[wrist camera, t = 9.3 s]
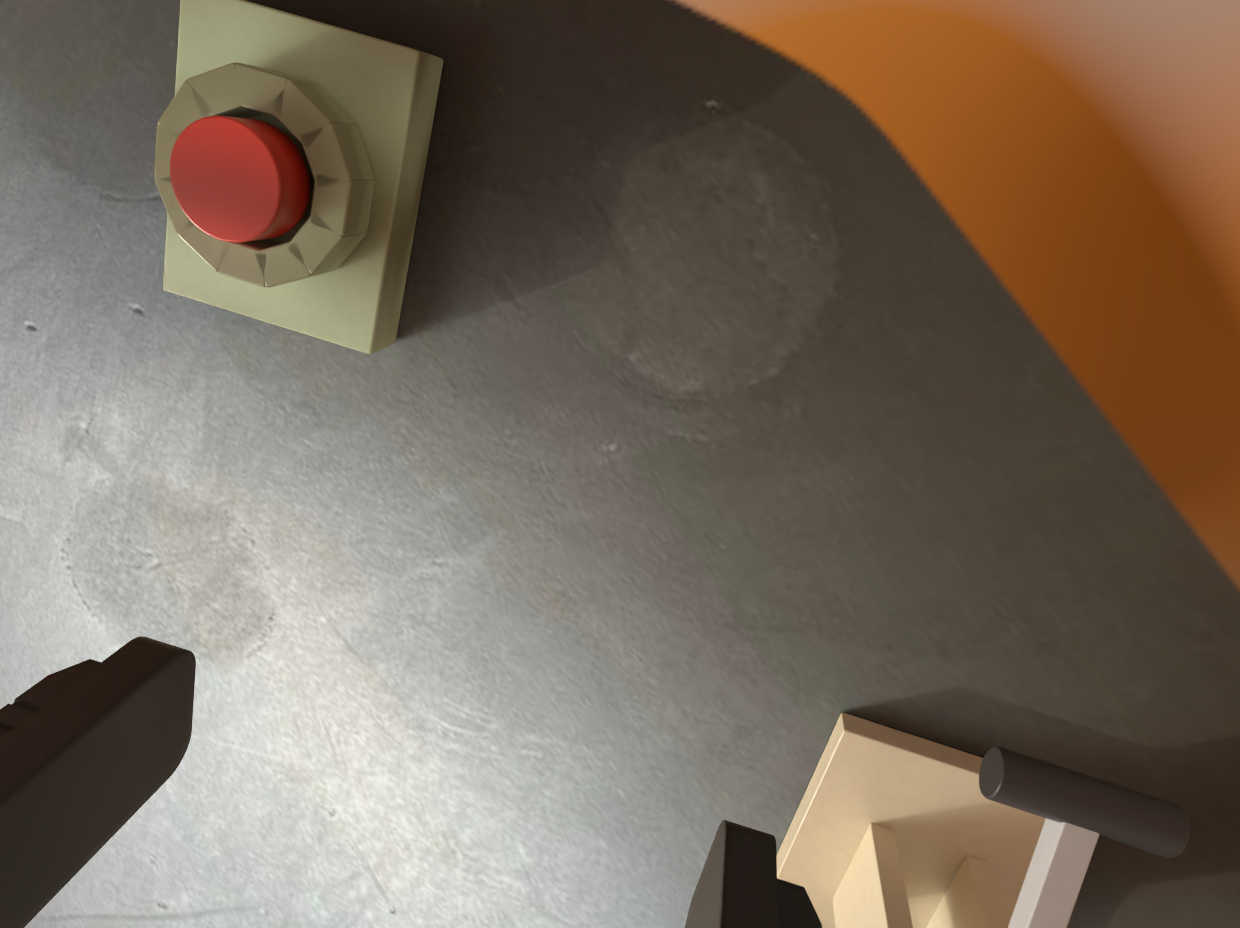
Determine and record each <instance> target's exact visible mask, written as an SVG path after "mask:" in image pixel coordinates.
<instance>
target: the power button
mask: <svg viewBox="0 0 1240 928" xmlns="http://www.w3.org/2000/svg"><path fill="white" fill-rule="evenodd" d="M170 177H171V183H172V188H173V191H174V194H175V197H176V199H177V201H178V203H179V205H180V207H181V208H182V210H183V212H184V213H185V214H186V216H187V217H188V218H189V219H190V220H191V222H192V223H193V224H194V225H196V226H197V227H198V228H199V229H200V230H202V231H203V232H205V233H206V234H208V235H210V236H212V237H213V238H216V239H219V240H221V241H226V242H233V243H239V242H248V241H255V240H262V239H269V238H274V237H278V236H281V235H283V234H285V233H287V232H288V231H290V230H291V229H292V228H294V227H295V225H296V224H297V223H298V222H299V221H300V219H301V218H302V216H303V214H304V212H305V210H306V207H307V204H308V199H309V191H310V185H309V176H308V171H307V168H306V164H305V162H304V160H303V157H302V155H301V153H300V152H299V150H298V148H297V147H296V146H295V144H294V143H293V142H292V141H291V139H290V138H289V137H288V136H287V135H286V134H285V133H283V132H282V131H281V130H280V129H278V128H277V127H275V126H273V125H271V124H270V123H267V122H264V121H262V120H257V119H250V118H240V117H229V116H217V115H216V116H207V117H203V118H201V119H198V120H196V121H194V122H193V123H191V124H190V125H189V126H187V127H186V128H185V129H184V130H183V131H182V133H181V134H180V135H179V137H178V139H177V140H176V142H175V145H174V147H173V150H172V154H171V159H170Z"/></svg>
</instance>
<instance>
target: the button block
mask: <svg viewBox="0 0 1240 928" xmlns="http://www.w3.org/2000/svg"><path fill="white" fill-rule="evenodd" d="M442 67H443V59H442V58H440V57H437V56H434V55H431V54H428V53H425V52H422V51H419V50H416V49H412V48H409V47H405V46H402V45H399V44H395V43H392V42H388V41H385V40H381V39H378V38H374V37H371V36H367V35H364V34H360V33H357V32H353V31H350V30H347V29H343V28H340V27H336V26H333V25H329V24H326V23H322V22H319V21H315V20H312V19H308V18H305V17H301V16H298V15H295V14H291V13H288V12H284V11H281V10H277V9H274V8H270V7H267V6H263V5H260V4H256V3H253V2H250V1H246V0H181V5H180V21H179V37H178V53H177V69H176V86H175V97H174V98H173V100H172V101H171V103H170V104H169V106H168V107H167V109H166V110H165V112H164V113H163V115H162V116H161V118H160V119H159V121H158V124H157V136H156V154H155V172H154V178H155V183H156V185H157V188H158V190H159V193H160V195H161V198H162V200H163V203H164V205H165V208H166V210H167V213H168V215H167V231H166V248H165V264H164V280H163V290H165V291H168V292H171V293H174V294H178V295H181V296H184V297H187V298H191V299H194V300H197V301H200V302H203V303H207V304H210V305H213V306H216V307H220V308H223V309H226V310H229V311H232V312H236V313H239V314H242V315H245V316H248V317H252V318H255V319H258V320H261V321H265V322H268V323H271V324H274V325H277V326H281V327H284V328H287V329H290V330H294V331H297V332H300V333H303V334H306V335H310V336H313V337H316V338H319V339H322V340H326V341H329V342H332V343H335V344H339V345H342V346H345V347H348V348H351V349H355V350H358V351H361V352H364V353H367V354H372V353H375V352H377V351H379V350H381V349H383V348H385V347H387V346H389V345H391V344H393V343H395V342H396V337H397V331H398V325H399V319H400V313H401V307H402V302H403V296H404V290H405V284H406V278H407V272H408V266H409V260H410V255H411V249H412V243H413V237H414V231H415V225H416V219H417V213H418V208H419V202H420V196H421V190H422V184H423V178H424V172H425V166H426V161H427V155H428V149H429V143H430V137H431V131H432V125H433V119H434V114H435V108H436V102H437V96H438V90H439V84H440V78H441V72H442ZM216 115H217V116H229V117H240V118H250V119H257V120H262V121H264V122H267V123H270V124H271V125H273V126H275V127H277V128H278V129H280V130H281V131H282V132H283V133H285V134H286V135H287V136H288V137H289V138H290V139H291V141H292V142H293V143H294V144H295V146H296V147H297V148H298V150H299V152H300V153H301V155H302V157H303V160H304V162H305V164H306V168H307V171H308V176H309V185H310V191H309V199H308V204H307V207H306V210H305V212H304V214H303V216H302V218H301V219H300V221H299V222H298V223H297V224H296V225H295V227H294V228H292V229H291V230H290V231H288V232H287V233H285V234H283V235H281V236H278V237H274V238H269V239H262V240H255V241H248V242H239V243H233V242H226V241H221V240H219V239H216V238H213V237H212V236H210V235H208V234H206V233H205V232H203V231H202V230H200V229H199V228H198V227H197V226H196V225H194V224H193V223H192V222H191V220H190V219H189V218H188V217H187V216H186V214H185V213H184V212H183V210H182V208H181V207H180V205H179V203H178V201H177V199H176V197H175V194H174V191H173V188H172V183H171V177H170V159H171V154H172V150H173V147H174V145H175V142H176V140H177V139H178V137H179V135H180V134H181V133H182V131H183V130H184V129H185V128H186V127H187V126H189V125H190V124H191V123H193V122H194V121H196V120H198V119H201V118H203V117H207V116H216Z"/></svg>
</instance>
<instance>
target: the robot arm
mask: <svg viewBox="0 0 1240 928" xmlns="http://www.w3.org/2000/svg"><path fill="white" fill-rule="evenodd" d="M195 666H196V661H195V656H194V654H193V653H192V652H191V651H189V650H185V649H182V648H179V647H176V646H173V645H169V644H166V643H163V642H160V641H157V640H153V639H150V638H147V637H137V638H135V639H133V640H131V641H130V642H128V643H127V644H126V645H124V646H123V647H122V648H120V649H119V650H118V651H116V652H115V653H114V654H112V655H111V656H110V657H108V658H107V659H106V660H104V661H103V662H102V663H101V662H98V661H94V660H91V659H89V660H87V661H84V662H81V663H79V664H76V665H74V666H71V667H69V668H66V669H63V670H61V671H58V672H56V673H53V674H51V675H48V676H47V677H45V678H44V679H43V680H41V681H40V682H38V683H37V684H36V685H34V686H33V687H31V688H30V689H29V690H27V691H26V692H24V693H23V694H22V695H20V696H19V697H17V698H16V699H15V702H14V703H13V704H12V705H11V704H7V705H6V706H5V707H3V708H2V709H0V928H24V927H25V926H26V925H27V924H28V923H29V922H30V921H31V920H32V919H33V918H34V917H35V916H36V915H37V914H38V913H39V912H40V910H41V909H42V908H43V907H44V906H45V905H46V904H47V903H48V902H49V901H50V900H51V899H52V898H53V897H54V896H55V895H56V894H57V893H58V892H59V891H60V890H61V889H62V888H63V887H64V886H65V885H66V884H67V883H68V882H69V881H70V880H71V878H72V877H73V876H74V875H75V874H76V873H77V872H78V871H79V870H80V869H81V868H82V867H83V866H84V865H85V864H86V863H87V862H88V861H89V860H90V859H91V858H92V857H93V856H94V855H95V854H96V853H97V852H98V851H99V850H100V849H101V848H102V846H103V845H104V844H105V843H106V842H107V841H108V840H109V839H110V838H111V837H112V836H113V835H114V834H115V833H116V832H117V831H118V830H119V829H120V828H121V827H122V826H123V825H124V824H125V823H126V822H127V821H128V820H129V819H130V818H131V817H132V816H133V815H134V813H135V812H136V811H137V810H138V809H139V808H140V807H141V806H142V805H143V804H144V803H145V802H146V801H147V800H148V799H149V798H150V797H151V796H152V795H153V794H154V793H155V792H156V791H157V790H158V789H159V788H160V787H161V786H162V785H163V784H164V783H165V781H166V780H167V779H168V778H169V777H170V776H171V775H172V774H173V772H174V771H175V770H176V768H177V767H178V765H179V764H180V762H181V760H182V758H183V756H184V754H185V752H186V750H187V747H188V745H189V741H190V737H191V731H192V715H193V699H194V683H195ZM685 928H822V924H821V922H820V919H819V917H818V915H817V913H816V911H815V909H814V907H813V905H812V902H811V900H810V898H809V896H808V894H807V892H806V890H805V888H804V887H802V886H799V885H796V884H793V883H790V882H787V881H784V880H780V879H777V858H776V840H775V837H774V836H773V835H770V834H767V833H764V832H761V831H758V830H754V829H751V828H748V827H745V826H742V825H738V824H735V823H732V822H729V821H726V820H723V821H722V822H721V824H720V826H719V828H718V831H717V833H716V836H715V839H714V841H713V844H712V847H711V849H710V852H709V855H708V857H707V860H706V863H705V865H704V868H703V871H702V873H701V876H700V879H699V881H698V884H697V887H696V890H695V892H694V895H693V898H692V901H691V905H690V908H689V912H688V916H687V921H686V925H685Z"/></svg>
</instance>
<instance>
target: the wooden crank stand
mask: <svg viewBox="0 0 1240 928" xmlns="http://www.w3.org/2000/svg"><path fill="white" fill-rule="evenodd" d="M982 760H983V758H982V757H978V756H975V755H972V754H969V753H966V752H963V751H960V750H957V749H954V748H951V747H948V746H945V745H942V744H938V743H935V742H932V741H929V740H926V739H923V738H920V737H917V736H914V735H911V734H908V733H905V732H902V731H899V730H895V729H892V728H889V727H886V726H883V725H880V724H877V723H874V722H871V721H868V720H865V719H862V718H859V717H855V716H852V715H849V714H846V713H843V712H842V713H841V715H840V717H839V719H838V721H837V723H836V726H835V728H834V730H833V732H832V734H831V737H830V739H829V741H828V743H827V745H826V748H825V750H824V752H823V754H822V756H821V759H820V761H819V763H818V765H817V768H816V770H815V772H814V774H813V776H812V779H811V781H810V783H809V785H808V787H807V790H806V792H805V794H804V796H803V798H802V801H801V803H800V805H799V807H798V810H797V812H796V814H795V816H794V818H793V821H792V823H791V825H790V827H789V829H788V832H787V834H786V836H785V838H784V840H783V843H782V845H781V847H780V849H779V852H778V854H777V856H776V858H777V879H780V880H784V881H787V882H790V883H793V884H796V885H799V886H802V887H804V888H805V890H806V892H807V894H808V896H809V898H810V900H811V902H812V905H813V907H814V909H815V911H816V913H817V915H818V917H819V919H820V922H821V924H822V928H1008V926H1009V923H1010V920H1011V917H1012V914H1013V911H1014V909H1015V906H1016V903H1017V900H1018V897H1019V894H1020V891H1021V888H1022V886H1023V883H1024V880H1025V877H1026V874H1027V871H1028V868H1029V865H1030V863H1031V860H1032V857H1033V854H1034V851H1035V848H1036V845H1037V843H1038V840H1039V837H1040V834H1041V831H1042V828H1043V825H1044V822H1045V820H1046V818H1043V817H1040V816H1037V815H1034V814H1031V813H1028V812H1025V811H1022V810H1019V809H1016V808H1013V807H1010V806H1007V805H1004V804H1001V803H998V802H995V801H992V800H989V799H986V798H985V797H984V796H983V795H982V793H981V791H980V787H979V772H980V767H981V763H982Z"/></svg>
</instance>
